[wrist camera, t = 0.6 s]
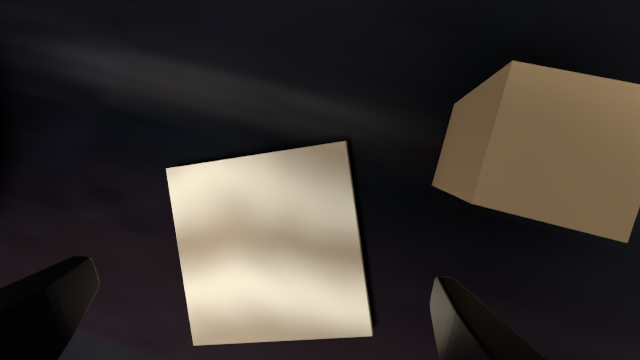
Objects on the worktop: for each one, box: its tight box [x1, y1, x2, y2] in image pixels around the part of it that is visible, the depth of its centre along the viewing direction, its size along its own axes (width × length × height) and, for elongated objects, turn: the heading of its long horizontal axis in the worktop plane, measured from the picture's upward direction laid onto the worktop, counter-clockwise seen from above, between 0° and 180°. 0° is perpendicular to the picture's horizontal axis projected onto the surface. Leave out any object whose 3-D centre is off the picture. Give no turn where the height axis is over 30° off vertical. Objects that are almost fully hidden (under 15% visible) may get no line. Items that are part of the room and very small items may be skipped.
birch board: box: [166, 141, 373, 345], centre depth 22 cm, size 12×12×1 cm
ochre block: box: [432, 61, 640, 243], centre depth 16 cm, size 5×5×9 cm
